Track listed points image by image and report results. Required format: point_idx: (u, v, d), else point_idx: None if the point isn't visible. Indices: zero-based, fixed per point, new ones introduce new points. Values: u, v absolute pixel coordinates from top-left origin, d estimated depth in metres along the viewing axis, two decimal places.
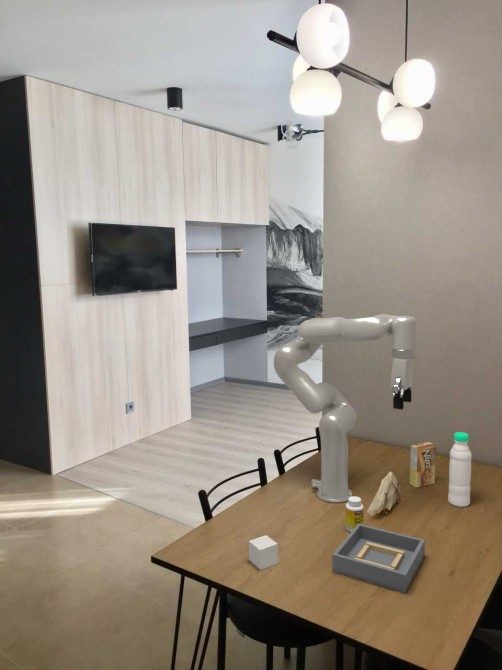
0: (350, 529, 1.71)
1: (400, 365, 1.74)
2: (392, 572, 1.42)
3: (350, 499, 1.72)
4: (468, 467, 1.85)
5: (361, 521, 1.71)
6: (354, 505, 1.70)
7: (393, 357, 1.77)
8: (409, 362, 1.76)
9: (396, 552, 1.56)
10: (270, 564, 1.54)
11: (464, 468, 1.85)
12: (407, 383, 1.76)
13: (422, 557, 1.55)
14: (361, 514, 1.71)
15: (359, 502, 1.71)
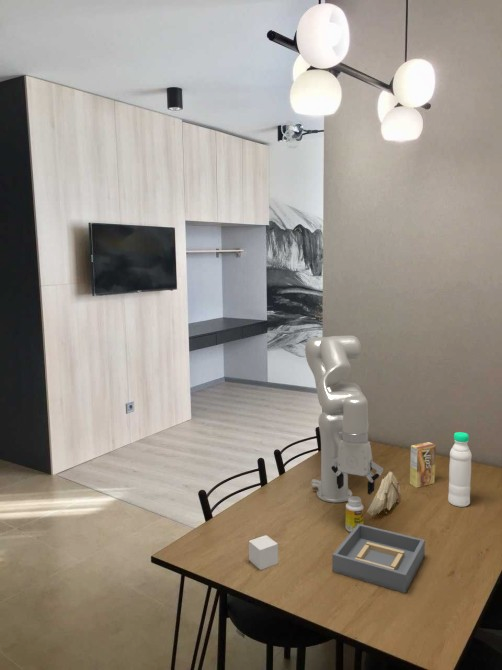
0: (350, 529, 1.71)
1: (370, 447, 1.67)
2: (392, 572, 1.42)
3: (350, 499, 1.72)
4: (468, 467, 1.85)
5: (361, 521, 1.71)
6: (354, 505, 1.70)
7: (361, 442, 1.65)
8: None
9: (396, 552, 1.56)
10: (270, 564, 1.54)
11: (464, 468, 1.85)
12: None
13: (422, 557, 1.55)
14: (361, 514, 1.71)
15: (359, 502, 1.71)
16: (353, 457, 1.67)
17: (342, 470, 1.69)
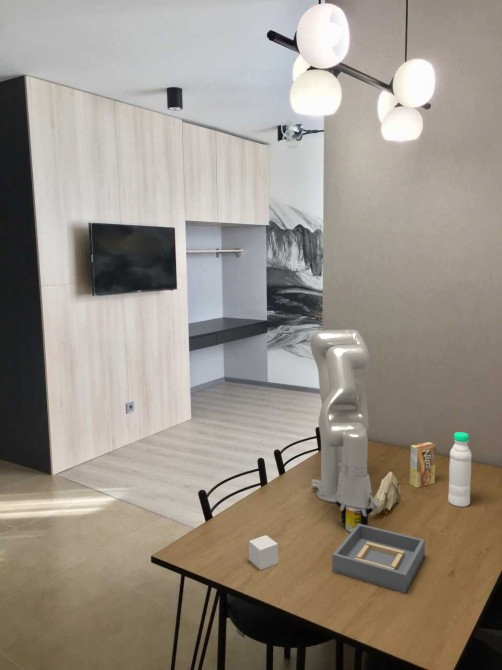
0: (350, 529, 1.71)
1: (369, 480, 1.69)
2: (392, 572, 1.42)
3: None
4: (468, 467, 1.85)
5: None
6: None
7: (360, 476, 1.67)
8: None
9: (396, 552, 1.56)
10: (270, 564, 1.54)
11: (464, 468, 1.85)
12: None
13: (422, 557, 1.55)
14: (361, 514, 1.71)
15: None
16: (352, 490, 1.69)
17: (341, 502, 1.71)
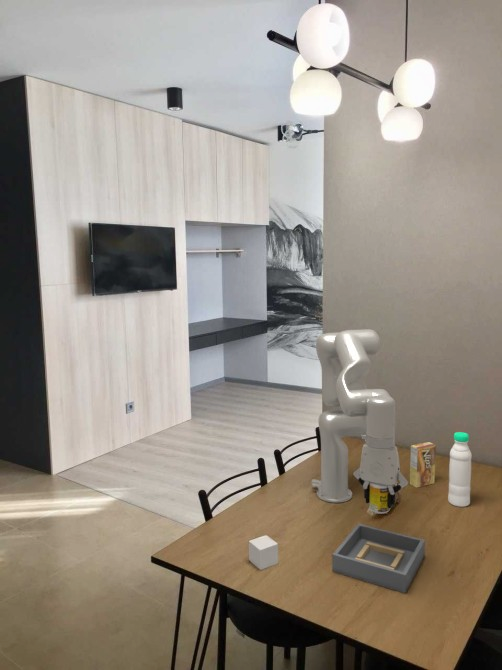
0: (375, 509, 1.50)
1: (397, 453, 1.48)
2: (392, 572, 1.42)
3: None
4: (468, 467, 1.85)
5: None
6: None
7: (387, 448, 1.46)
8: None
9: (396, 552, 1.56)
10: (270, 564, 1.54)
11: (464, 468, 1.85)
12: None
13: (422, 557, 1.55)
14: (388, 492, 1.49)
15: None
16: (378, 464, 1.48)
17: (365, 478, 1.50)
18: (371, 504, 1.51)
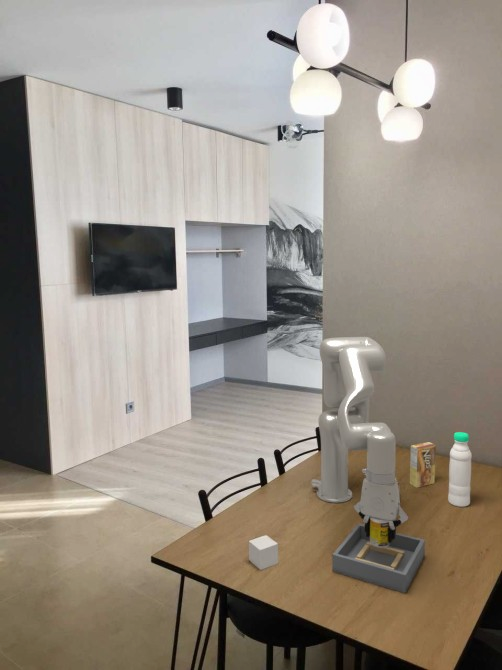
0: (375, 544, 1.51)
1: (397, 488, 1.49)
2: (392, 572, 1.42)
3: None
4: (468, 467, 1.85)
5: None
6: None
7: (388, 484, 1.47)
8: None
9: (396, 552, 1.56)
10: (270, 564, 1.54)
11: (464, 468, 1.85)
12: None
13: (422, 557, 1.55)
14: (388, 527, 1.50)
15: None
16: (378, 499, 1.49)
17: (366, 513, 1.51)
18: (371, 538, 1.52)
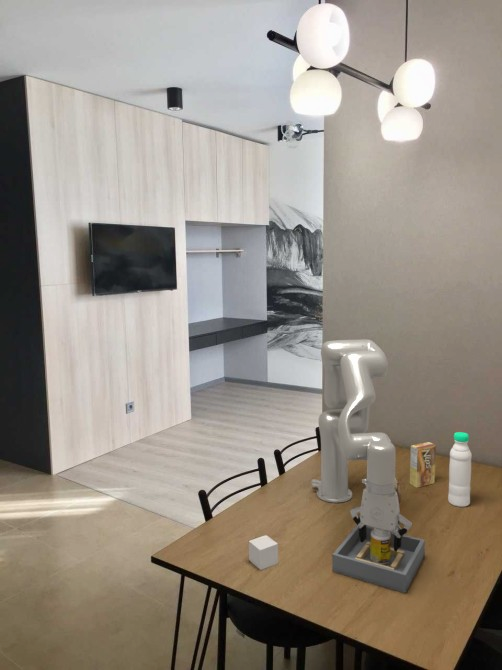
0: (376, 560, 1.52)
1: (397, 499, 1.49)
2: (392, 572, 1.42)
3: None
4: (468, 467, 1.85)
5: (388, 551, 1.51)
6: (380, 533, 1.51)
7: (387, 494, 1.47)
8: None
9: (396, 552, 1.56)
10: (270, 564, 1.54)
11: (464, 468, 1.85)
12: None
13: (422, 557, 1.55)
14: (388, 544, 1.51)
15: (386, 530, 1.51)
16: (378, 510, 1.49)
17: (365, 523, 1.52)
18: (372, 555, 1.53)
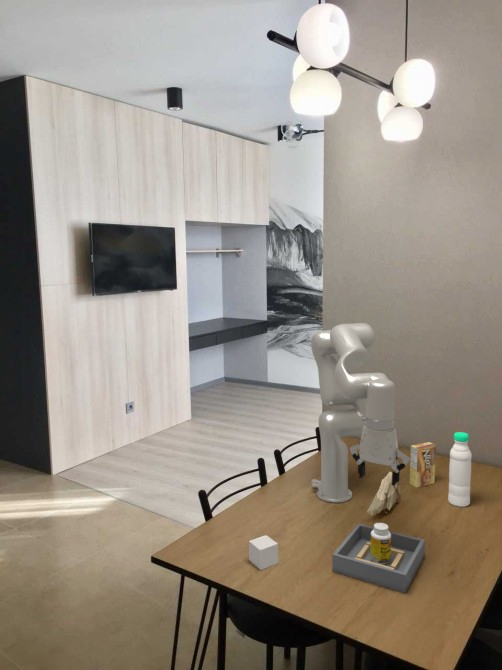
0: (376, 560, 1.52)
1: (396, 435, 1.53)
2: (392, 572, 1.42)
3: (376, 526, 1.52)
4: (468, 467, 1.85)
5: (388, 551, 1.51)
6: (380, 533, 1.51)
7: (386, 430, 1.51)
8: None
9: (396, 552, 1.56)
10: (270, 564, 1.54)
11: (464, 468, 1.85)
12: None
13: (422, 557, 1.55)
14: (388, 543, 1.51)
15: (386, 530, 1.51)
16: (377, 445, 1.53)
17: (364, 459, 1.56)
18: (372, 554, 1.53)
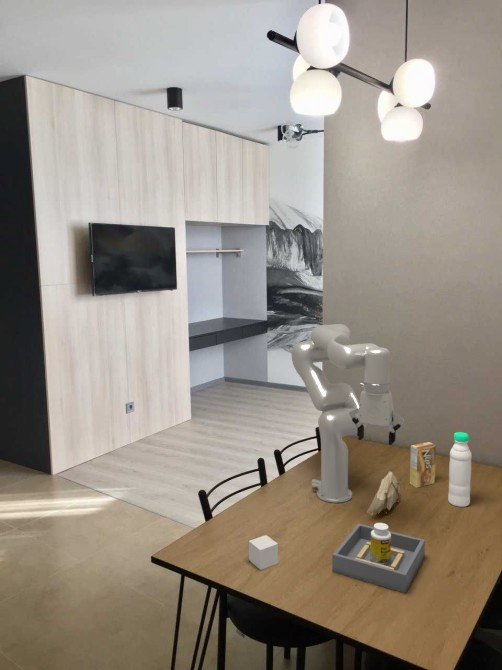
0: (376, 560, 1.52)
1: (391, 398, 1.67)
2: (392, 572, 1.42)
3: (376, 526, 1.52)
4: (468, 467, 1.85)
5: (388, 551, 1.51)
6: (380, 533, 1.51)
7: (383, 393, 1.65)
8: None
9: (396, 552, 1.56)
10: (270, 564, 1.54)
11: (464, 468, 1.85)
12: None
13: (422, 557, 1.55)
14: (388, 543, 1.51)
15: (386, 530, 1.51)
16: (375, 408, 1.67)
17: (363, 421, 1.69)
18: (372, 555, 1.53)
